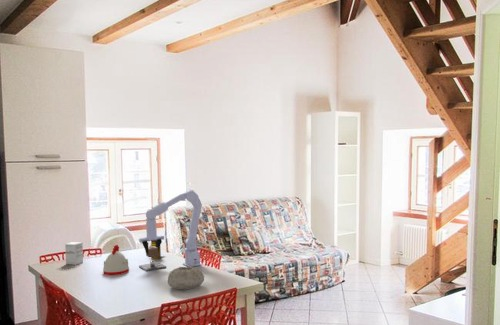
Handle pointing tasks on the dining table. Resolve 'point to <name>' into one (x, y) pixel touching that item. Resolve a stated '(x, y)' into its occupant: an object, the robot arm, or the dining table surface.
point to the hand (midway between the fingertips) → (152, 253)
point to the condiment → (158, 251)
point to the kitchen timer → (115, 263)
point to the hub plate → (152, 266)
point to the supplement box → (74, 253)
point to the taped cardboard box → (152, 251)
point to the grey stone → (185, 278)
